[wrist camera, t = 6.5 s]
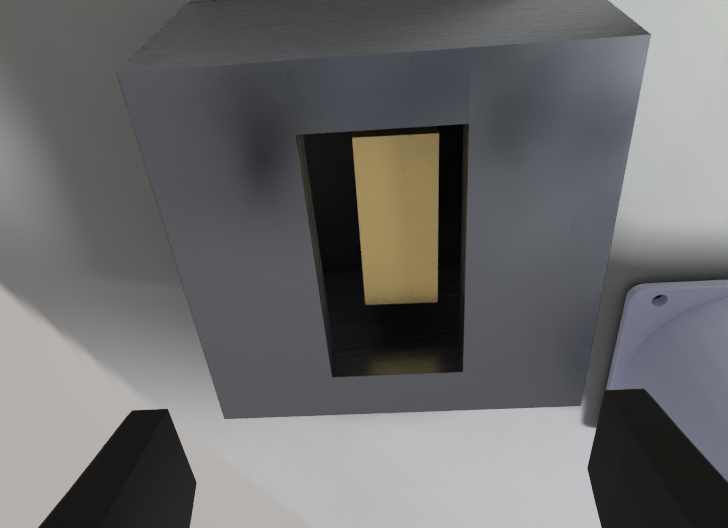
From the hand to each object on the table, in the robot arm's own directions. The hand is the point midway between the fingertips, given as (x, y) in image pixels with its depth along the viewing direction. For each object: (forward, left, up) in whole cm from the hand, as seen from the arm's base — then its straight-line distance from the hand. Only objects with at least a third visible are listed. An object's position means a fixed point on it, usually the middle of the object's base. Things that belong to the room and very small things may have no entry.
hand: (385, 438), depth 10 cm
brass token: (0, 0, -11) cm, 11 cm away
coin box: (0, 0, -10) cm, 10 cm away
